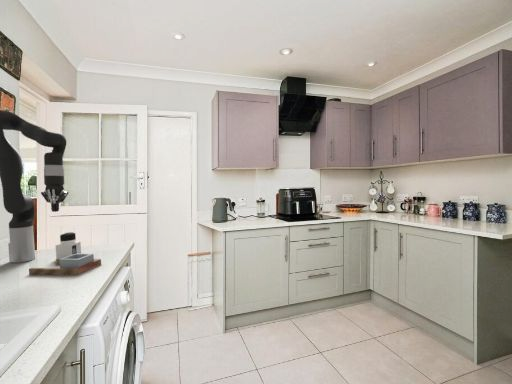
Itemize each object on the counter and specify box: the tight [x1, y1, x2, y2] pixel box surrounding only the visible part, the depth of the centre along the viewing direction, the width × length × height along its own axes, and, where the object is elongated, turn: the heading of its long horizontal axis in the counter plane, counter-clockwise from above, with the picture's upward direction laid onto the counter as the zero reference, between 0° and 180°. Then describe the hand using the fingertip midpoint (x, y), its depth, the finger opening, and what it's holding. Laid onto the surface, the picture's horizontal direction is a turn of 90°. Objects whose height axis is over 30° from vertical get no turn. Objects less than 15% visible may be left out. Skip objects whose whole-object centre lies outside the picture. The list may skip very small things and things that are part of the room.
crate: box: [59, 253, 95, 268], centre depth 120 cm, size 9×9×6 cm
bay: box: [28, 258, 102, 276], centre depth 120 cm, size 22×15×2 cm
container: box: [55, 231, 82, 260], centre depth 138 cm, size 8×8×13 cm
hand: (55, 211), depth 127 cm, fingers closed
